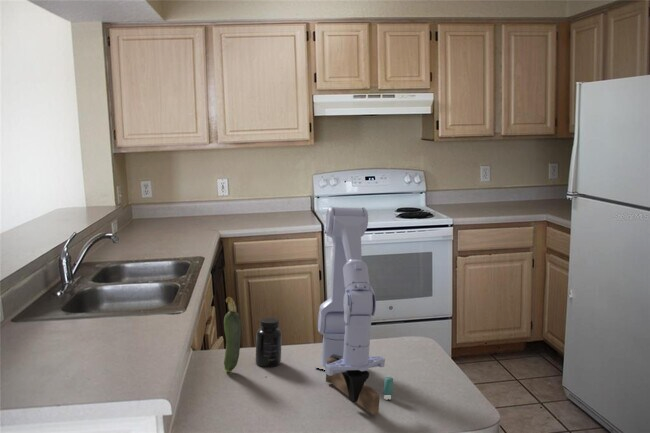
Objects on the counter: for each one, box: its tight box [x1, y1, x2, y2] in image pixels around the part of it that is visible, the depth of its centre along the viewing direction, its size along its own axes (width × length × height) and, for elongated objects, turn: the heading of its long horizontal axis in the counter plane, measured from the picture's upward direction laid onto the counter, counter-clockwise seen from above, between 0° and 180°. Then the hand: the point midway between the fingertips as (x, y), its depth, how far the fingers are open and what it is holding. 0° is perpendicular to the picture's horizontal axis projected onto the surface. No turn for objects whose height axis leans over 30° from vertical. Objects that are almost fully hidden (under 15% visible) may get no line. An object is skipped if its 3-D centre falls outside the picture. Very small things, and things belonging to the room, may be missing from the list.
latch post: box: [383, 376, 394, 396], centre depth 139 cm, size 2×2×5 cm
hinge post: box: [330, 354, 342, 361], centre depth 147 cm, size 2×2×6 cm
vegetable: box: [223, 296, 242, 373], centre depth 148 cm, size 4×4×20 cm
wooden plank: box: [325, 358, 381, 415], centre depth 137 cm, size 21×2×6 cm, turn 30°
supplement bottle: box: [254, 317, 283, 369], centre depth 156 cm, size 7×7×12 cm
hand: (353, 400), depth 132 cm, fingers closed
